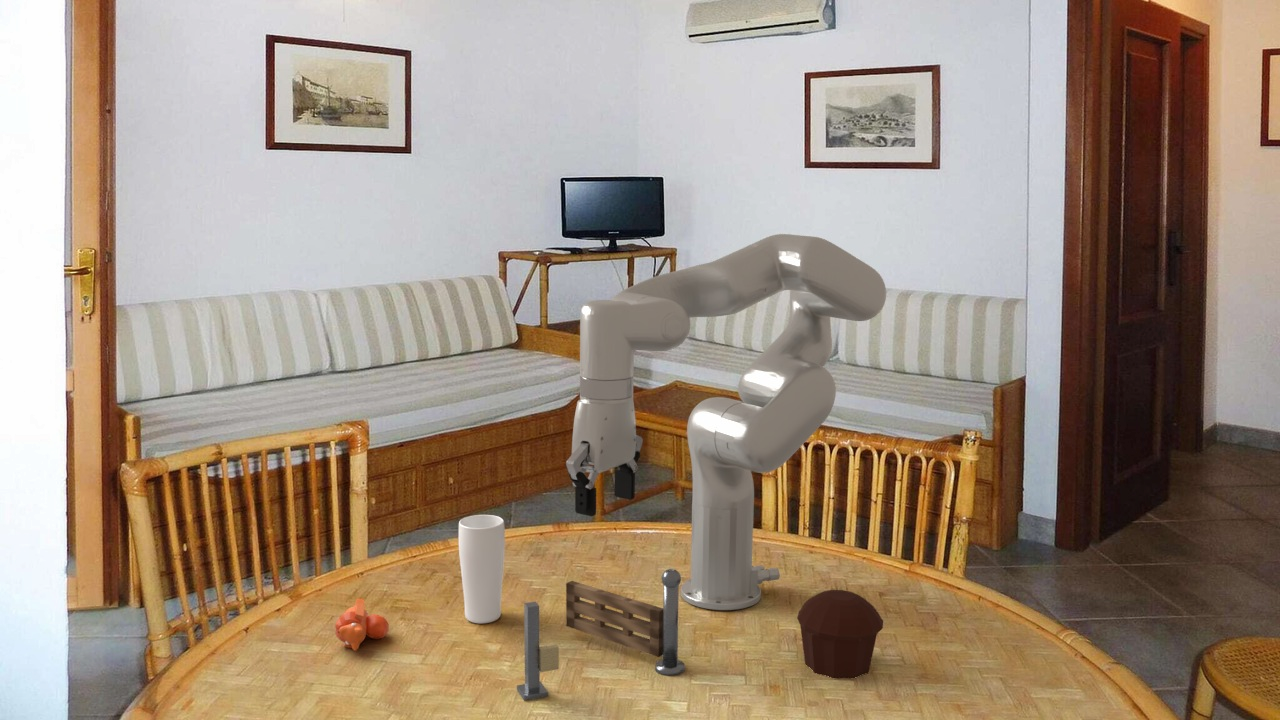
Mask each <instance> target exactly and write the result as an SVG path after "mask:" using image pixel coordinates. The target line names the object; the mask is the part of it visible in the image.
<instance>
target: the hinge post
mask: <svg viewBox="0 0 1280 720" xmlns="http://www.w3.org/2000/svg"><path fill="white" fill-rule="evenodd" d="M681 582H682V577H681V573H680V572H679V570H676V569H675V568H668V569H666V570H664V571H663V572H662V575H661V583H662V585H663V599H662V600H663V601H662V602H663V605H662V606H663V607H662V608H663V655H662V659H659V660H657V661H656V662H655V663H654V670H655V672H656V673H658V674H659V675H662V676H667V677H668V676H670V677H672V676H673V677H675V676H678V675H681V674H684V672H685V670H686V666H685V665H686V664H685V663H684V662H683V661H682V660H680V659H678V651H679V649H678V648H679V647H678V646H679V645H678V644H679V642H678V641H679V599H680V598H679V591H680V590H679V587H680V584H681Z"/></svg>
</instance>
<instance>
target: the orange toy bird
mask: <svg viewBox="0 0 1280 720" xmlns="http://www.w3.org/2000/svg"><path fill="white" fill-rule="evenodd" d="M365 607H366V604H365V599H362V598H359V597H357V598H356V600H355V603H354V605H353V606H351V607H349V608H347V610H345V612H344V613H341V615H340V616H339V618H338V619H337V621H336V622H335V625H334V628H335V635H336V638H337V639H338V640H340V642H342V643H344V647H345V648H348V649H352V650H353V651H354V652H356V651H357V650H358V649H359V648H360V645H361V643H362V642H363V641H364V640H365V638H366V635H367V636H368V637H370V638H371V639H374V640H379V639H383V638H384V637H385V636H386V635H387V634H388V632H389V630H390V629H389V627H390V626H389V622H388V620H387V619H386V618H385V617H383V616H382V615H380V614H373V613H372V614H369V615H368V612H367V610H366V609H365Z"/></svg>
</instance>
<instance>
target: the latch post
mask: <svg viewBox="0 0 1280 720" xmlns="http://www.w3.org/2000/svg"><path fill="white" fill-rule="evenodd" d="M523 606H524V608H523V609H524V610H523V611H524V612H523V613H524V616H523V617H524V618H523V619H524V620H523V621H524V626H523V627H524V683H523V684H517V685H516V691H517V693H518V694H519V695H520V697H521V699H522V700H523V701H529V700H534V699H541V698H546V697H549V691H548V689H547V688H546V687H545V686H544V684H543V683H542V682H541V681H540V680H541V679H540V677H541V676H540V673H543V672H544V673H545V672H549V671H556V670H559V669H560V667H559V666H560V663H559V660H560V659H559V658H560V657H559V655H560V652H559V651H560V650H559V649H560V648H559V646H558V645H557V644H553V645H545V646H540V605H539V604H538V603H537V601H530V602H524V603H523Z"/></svg>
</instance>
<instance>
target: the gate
mask: <svg viewBox="0 0 1280 720" xmlns="http://www.w3.org/2000/svg"><path fill="white" fill-rule="evenodd" d="M565 587H566V588H565V589H566V590H565V592H566V593H565V594H566V595H565V597H566V598H565V599H566V600H565V602H566V603H565V605H566V609H565V610H566V611H565V613H566V616H565V617H566V618H565V619H566V620H565V621H566V622H565V624H566V625H565V626H566V627H568V628H571V629H574V630H577V631H578V632H579V631H580V632H582V633H585V634H588V635H591V636H595V637H598V638H600V639H603V640H606V641H609V642H613V643H615V644H618V645H621V646H624V647H626V648H631V649H633V650H636V651H639V652H643V653H645V654H648V655H650V656H655V657H657V658H660V657H661V656H663V607H659V606H656V605H652V604H650V603H646V602H644V601H640V600H637V599H633V598H630V597H628V596H627V597H626V596H624V595H620V594H617V593H614V592H611V591H606V590H604V589H600V588H597V587H595V586H591V585H587V584H585V583H582V582H581V583H580V582H577V581H574V580H571V581H568V582H566V583H565ZM580 598H582V599H585V600H587V601H585V600H581V599H580ZM588 601H590V602H594V603H590V602H588ZM607 607H610V608H613V609H616V610H618V611H616V610H613V609H610V608H607ZM619 610H620V611H622V612H620V611H619ZM581 615H582V616H581ZM634 615H635V616H638V617H635V616H634ZM583 616H585V617H583ZM587 617H588V618H587ZM639 617H642V618H645V619H647V620H645V619H642V618H639ZM589 618H590V619H589ZM592 619H594V620H592ZM648 619H649V620H648ZM608 624H609V625H608ZM612 625H613V626H616V627H613V626H612ZM617 627H619V628H621V629H619V628H617ZM635 633H637V634H635ZM638 634H640V635H638ZM641 635H643V636H641ZM644 636H646V637H644Z"/></svg>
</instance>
